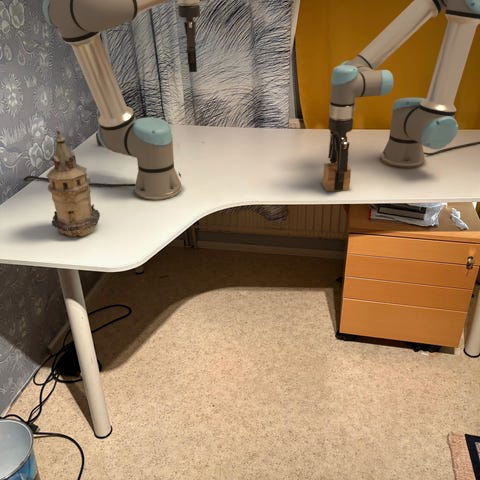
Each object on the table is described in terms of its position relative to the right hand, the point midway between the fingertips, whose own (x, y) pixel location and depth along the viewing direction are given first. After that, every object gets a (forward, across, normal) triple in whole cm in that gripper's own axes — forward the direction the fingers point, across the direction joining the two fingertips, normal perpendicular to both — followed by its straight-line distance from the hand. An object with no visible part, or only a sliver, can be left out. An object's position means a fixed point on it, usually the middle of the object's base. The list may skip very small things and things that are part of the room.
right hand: (335, 185), depth 179 cm
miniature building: (+1, -19, +82) cm, 84 cm away
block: (+1, 0, 0) cm, 1 cm away
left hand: (-32, +40, +45) cm, 68 cm away
